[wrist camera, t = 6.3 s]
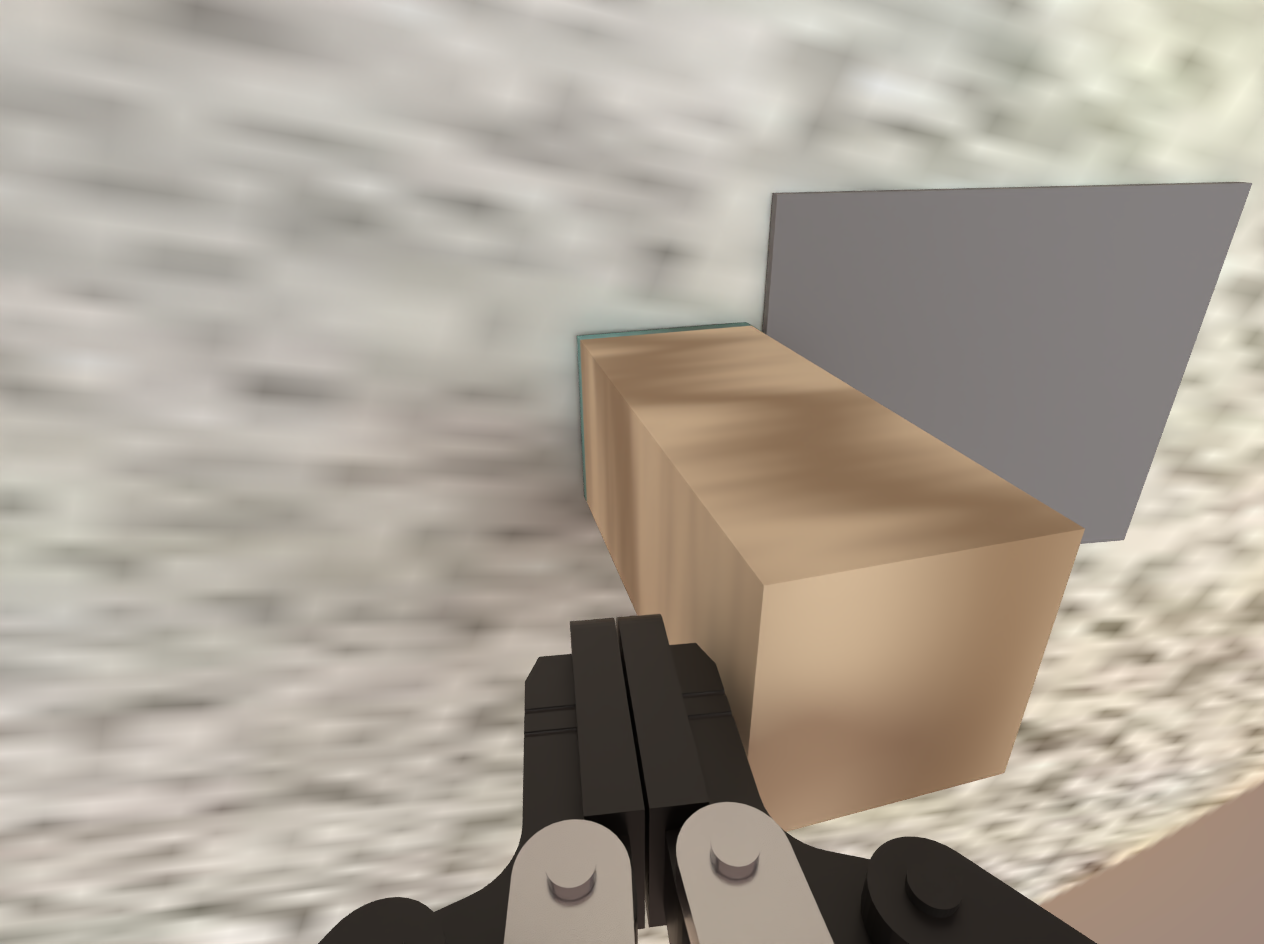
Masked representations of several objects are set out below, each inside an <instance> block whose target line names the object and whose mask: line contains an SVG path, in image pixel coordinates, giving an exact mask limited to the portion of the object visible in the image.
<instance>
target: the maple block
mask: <svg viewBox="0 0 1264 944" xmlns="http://www.w3.org/2000/svg"><path fill="white" fill-rule="evenodd" d="M577 344H578V367H579V390H580V413H581V436H582V459H583V482H584V497H585V499H586V501H587V503H588V506H589V508H590V510H591V512H592V515H593V517H594V519H595V521H596V524H597V526H598V528H599V530H600V533H601V535H602V537H603V539H604V542H605V544H606V546H607V548H608V550H609V553H610V555H611V557H612V559H613V562H614V564H615V566H616V568H617V571H618V573H619V575H620V577H621V580H622V582H623V584H624V586H625V589H626V591H627V593H628V595H629V598H630V600H631V602H632V604H633V606H634V609H635V611H636V613H637V615H638V616H639V615H650V614H661V616H662V618H663V622H664V626H665V630H666V634H667V637H668V641H669V645H676V644H687V643H697V644H698V645H699V647H700V648H701V649H702V650H703V651H704V652H705V653H706V654H707V655H708V656H709V657H710V658H711V659H712V660H713V661H714V662H715V663H716V666H717V669H718V672H719V675H720V678H721V681H722V684H723V687H724V691H725V695H726V696H727V699H728V702H729V705H730V708H731V711H732V717H734V720H735V723H736V726H737V729H738V732H739V735H740V738H741V741H742V744H743V747H744V750H745V753H746V756H747V759H748V762H749V765H750V768H751V771H752V774H753V777H754V780H755V783H756V786H757V789H758V792H759V795H760V798H761V800H762V802H763V805H764V807H765V809H766V810H767V812H768V813H769V815H770V816H771V818H772V819H773V820H774V821H775V822H776V823H777V824H778V825H779V826H780V827H781V828H782V829H783V830H784V831H785V832H787V831H790V830H794V829H798V828H802V827H805V826H809V825H813V824H816V823H820V822H824V821H828V820H831V819H835V818H839V817H842V816H846V815H850V814H854V813H857V812H861V811H865V810H869V809H872V808H876V807H880V806H883V805H887V804H891V803H895V802H898V801H902V800H906V799H909V798H913V797H917V796H921V795H924V794H928V793H932V792H935V791H939V790H943V789H947V788H950V787H954V786H958V785H962V784H965V783H969V782H973V781H976V780H980V779H984V778H988V777H991V776H995V775H999V774H1002V773H1004V772H1005V769H1006V766H1007V763H1008V760H1009V757H1010V754H1011V751H1012V748H1013V745H1014V742H1015V739H1016V736H1017V733H1018V730H1019V727H1020V724H1021V721H1022V718H1023V715H1024V712H1025V709H1026V706H1027V703H1028V700H1029V697H1030V694H1031V691H1032V688H1033V685H1034V682H1035V679H1036V675H1037V672H1038V669H1039V666H1040V663H1041V660H1042V657H1043V654H1044V651H1045V648H1046V645H1047V642H1048V639H1049V636H1050V633H1051V630H1052V627H1053V624H1054V621H1055V618H1056V615H1057V612H1058V609H1059V606H1060V603H1061V600H1062V597H1063V594H1064V591H1065V588H1066V585H1067V582H1068V579H1069V576H1070V573H1071V570H1072V567H1073V564H1074V561H1075V558H1076V555H1077V552H1078V549H1079V546H1080V543H1081V539H1082V536H1083V533H1084V530H1085V528H1083V527H1081V526H1080V525H1078V524H1076V523H1075V522H1073V521H1072V520H1070V519H1068V518H1067V517H1065V516H1063V515H1062V514H1060V513H1058V512H1057V511H1055V510H1053V509H1052V508H1050V507H1049V506H1047V505H1045V504H1044V503H1042V502H1040V501H1039V500H1037V499H1035V498H1034V497H1032V496H1030V495H1029V494H1027V493H1026V492H1024V491H1022V490H1021V489H1019V488H1017V487H1016V486H1014V485H1012V484H1011V483H1009V482H1007V481H1006V480H1004V479H1003V478H1001V477H999V476H998V475H996V474H994V473H993V472H991V471H989V470H988V469H986V468H984V467H983V466H981V465H980V464H978V463H976V462H975V461H973V460H971V459H970V458H968V457H966V456H965V455H963V454H961V453H960V452H958V451H957V450H955V449H953V448H952V447H950V446H948V445H947V444H945V443H943V442H942V441H940V440H938V439H937V438H935V437H934V436H932V435H930V434H929V433H927V432H925V431H924V430H922V429H920V428H919V427H917V426H915V425H914V424H912V423H911V422H909V421H907V420H906V419H904V418H902V417H901V416H899V415H897V414H896V413H894V412H893V411H891V410H889V409H888V408H886V407H884V406H883V405H881V404H879V403H878V402H876V401H874V400H873V399H871V398H870V397H868V396H866V395H865V394H863V393H861V392H860V391H858V390H856V389H855V388H853V387H851V386H850V385H848V384H847V383H845V382H843V381H842V380H840V379H838V378H837V377H835V376H833V375H832V374H830V373H828V372H827V371H825V370H824V369H822V368H820V367H819V366H817V365H815V364H814V363H812V362H810V361H809V360H807V359H805V358H804V357H802V356H801V355H799V354H797V353H796V352H794V351H792V350H791V349H789V348H787V347H786V346H784V345H782V344H781V343H779V342H778V341H776V340H774V339H773V338H771V337H769V336H768V335H766V334H764V333H763V332H761V331H759V330H758V329H756V328H755V327H753V326H751V325H750V324H748V323H746V322H745V323H730V324H717V325H705V326H693V327H681V328H668V329H656V330H644V331H631V332H619V333H607V334H594V335H582V336H577Z"/></svg>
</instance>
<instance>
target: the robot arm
mask: <svg viewBox="0 0 1264 944" xmlns="http://www.w3.org/2000/svg"><path fill="white" fill-rule="evenodd" d="M570 632H571V648H572V654H566V655H555V656H544V657H539V658H538V659H537V661H536V663H535V665H534V667H533V668H532V670H531V672H530V674H529V676H528V677H527V679H526V681H525V717H524V773H523V826H522V835H521V839H520V842H519V846H518V848H517V850H516V852H515V855H514V856H513V858H512V860H511V861H510V863H509V864H508V866H507V867H506V868H505V869H504V870H503V872H502V873H501V874H500V875H499V876H498V877H497V878H496V879H495V880H493V881H492V882H491V883H490V884H488V885H487V886H486V887H484V888H483V889H481V890H479V891H478V892H476V893H474V894H472V895H470V896H468V897H466V898H464V899H461V900H459V901H457V902H455V903H453V904H451V905H448V906H446V907H444V908H442V909H440V910H438V911H435V912H433V911H432V910H431V909H429V908H428V907H427V906H426V905H424V904H422V903H421V902H419V901H416V900H413V899H409V898H402V897H393V898H385V899H380V900H376V901H374V902H371V903H368V904H366V905H364V906H362V907H360V908H358V909H356V910H355V911H353V912H352V913H350V914H349V915H348V916H346V917H345V918H343V919H342V920H341V921H340V922H339V923H338V924H337V925H336V926H335V927H334V928H333V929H332V930H331V931H330V932H329V933H328V934H327V935H326V936H325V937H324V938H323V939H322V940H321V941H320V942H319V943H318V944H638V929H643V928H645V903H646V910H647V917H648V924H649V927H655V926H663V925H667V930H668V936H669V943H670V944H1097V943H1095V942H1094V941H1092V940H1090V939H1089V938H1088V937H1086V936H1085V935H1083V934H1082V933H1080V932H1078V931H1077V930H1075V929H1074V928H1072V927H1071V926H1069V925H1068V924H1066V923H1065V922H1063V921H1062V920H1060V919H1059V918H1057V917H1056V916H1054V915H1053V914H1051V913H1049V912H1048V911H1046V910H1045V909H1043V908H1042V907H1040V906H1039V905H1037V904H1036V903H1034V902H1033V901H1031V900H1030V899H1028V898H1027V897H1025V896H1023V895H1022V894H1020V893H1019V892H1017V891H1016V890H1014V889H1013V888H1011V887H1010V886H1008V885H1007V884H1005V883H1004V882H1002V881H1001V880H999V879H998V878H996V877H994V876H993V875H991V874H990V873H988V872H987V871H985V870H984V869H982V868H981V867H979V866H978V865H976V864H975V863H973V862H972V861H970V860H969V859H967V858H965V857H964V856H962V855H961V854H959V853H958V852H956V851H954V850H953V849H951V848H949V847H948V846H946V845H943V844H941V843H939V842H936V841H933V840H930V839H926V838H920V837H900V838H895V839H892V840H890V841H887V842H886V843H884V844H883V845H881V846H880V847H879V848H878V849H877V850H876V851H875V852H874V854H873V856H872V857H871V859H865V858H860V857H855V856H850V855H845V854H840V853H835V852H830V851H825V850H822V849H818V848H814V847H812V846H809V845H807V844H804V843H802V842H801V841H799V840H797V839H795V838H793V837H792V836H791V835H789V834H788V833H787V832H785V831H784V830H783V829H782V828H781V827H780V826H779V825H778V824H777V823H776V822H775V821H774V820H773V819H772V818H771V816H770V815H769V813H768V812H767V810H766V809H765V807H764V805H763V802H762V800H761V798H760V795H759V792H758V789H757V786H756V783H755V780H754V777H753V774H752V771H751V768H750V765H749V762H748V759H747V756H746V753H745V750H744V747H743V744H742V741H741V738H740V735H739V732H738V729H737V726H736V723H735V720H734V717H732V711H731V708H730V705H729V702H728V699H727V696H726V695H725V691H724V687H723V684H722V681H721V678H720V675H719V672H718V669H717V666H716V663H715V662H714V661H713V660H712V659H711V658H710V657H709V656H708V655H707V654H706V653H705V652H704V651H703V650H702V649H701V648H700V647H699V645H698V644H697V643H687V644H676V645H669V641H668V637H667V634H666V630H665V626H664V622H663V618H662V616H661V614H650V615H639V616H627V617H617V618H616V625H615V620H614V618H605V619H593V620H582V621H570Z"/></svg>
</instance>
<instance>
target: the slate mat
mask: <svg viewBox="0 0 1264 944" xmlns="http://www.w3.org/2000/svg"><path fill="white" fill-rule="evenodd" d="M1251 185H1252V183H1245V182H1219V183H1177V184H1135V185H1093V186H1051V187H1009V188H967V189H925V190H883V191H841V192H799V193H773V198H772V212H771V225H770V238H769V252H768V265H767V279H766V292H765V305H764V319H763V333H764V334H766V335H768V336H769V337H771V338H773V339H774V340H776V341H778V342H779V343H781V344H782V345H784V346H786V347H787V348H789V349H791V350H792V351H794V352H796V353H797V354H799V355H801V356H802V357H804V358H805V359H807V360H809V361H810V362H812V363H814V364H815V365H817V366H819V367H820V368H822V369H824V370H825V371H827V372H828V373H830V374H832V375H833V376H835V377H837V378H838V379H840V380H842V381H843V382H845V383H847V384H848V385H850V386H851V387H853V388H855V389H856V390H858V391H860V392H861V393H863V394H865V395H866V396H868V397H870V398H871V399H873V400H874V401H876V402H878V403H879V404H881V405H883V406H884V407H886V408H888V409H889V410H891V411H893V412H894V413H896V414H897V415H899V416H901V417H902V418H904V419H906V420H907V421H909V422H911V423H912V424H914V425H915V426H917V427H919V428H920V429H922V430H924V431H925V432H927V433H929V434H930V435H932V436H934V437H935V438H937V439H938V440H940V441H942V442H943V443H945V444H947V445H948V446H950V447H952V448H953V449H955V450H957V451H958V452H960V453H961V454H963V455H965V456H966V457H968V458H970V459H971V460H973V461H975V462H976V463H978V464H980V465H981V466H983V467H984V468H986V469H988V470H989V471H991V472H993V473H994V474H996V475H998V476H999V477H1001V478H1003V479H1004V480H1006V481H1007V482H1009V483H1011V484H1012V485H1014V486H1016V487H1017V488H1019V489H1021V490H1022V491H1024V492H1026V493H1027V494H1029V495H1030V496H1032V497H1034V498H1035V499H1037V500H1039V501H1040V502H1042V503H1044V504H1045V505H1047V506H1049V507H1050V508H1052V509H1053V510H1055V511H1057V512H1058V513H1060V514H1062V515H1063V516H1065V517H1067V518H1068V519H1070V520H1072V521H1073V522H1075V523H1076V524H1078V525H1080V526H1081V527H1083V528H1085V530H1084V533H1083V536H1082V539H1081V543H1080V544H1084V543H1095V542H1107V541H1119V540H1124V539H1125V536H1126V533H1127V530H1128V527H1129V525H1130V522H1131V519H1132V516H1133V514H1134V511H1135V508H1136V505H1137V502H1138V500H1139V497H1140V494H1141V491H1142V488H1143V486H1144V483H1145V480H1146V477H1147V475H1148V472H1149V469H1150V466H1151V463H1152V461H1153V458H1154V455H1155V452H1156V450H1157V447H1158V444H1159V441H1160V438H1161V436H1162V433H1163V430H1164V427H1165V424H1166V422H1167V419H1168V416H1169V413H1170V411H1171V408H1172V405H1173V402H1174V399H1175V397H1176V394H1177V391H1178V388H1179V386H1180V383H1181V380H1182V377H1183V374H1184V372H1185V369H1186V366H1187V363H1188V361H1189V358H1190V355H1191V352H1192V349H1193V347H1194V344H1195V341H1196V338H1197V335H1198V333H1199V330H1200V327H1201V324H1202V322H1203V319H1204V316H1205V313H1206V310H1207V308H1208V305H1209V302H1210V299H1211V297H1212V294H1213V291H1214V288H1215V285H1216V283H1217V280H1218V277H1219V274H1220V271H1221V269H1222V266H1223V263H1224V260H1225V258H1226V255H1227V252H1228V249H1229V246H1230V244H1231V241H1232V238H1233V235H1234V233H1235V230H1236V227H1237V224H1238V221H1239V219H1240V216H1241V213H1242V210H1243V208H1244V205H1245V202H1246V199H1247V196H1248V194H1249V191H1250V188H1251Z"/></svg>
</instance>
